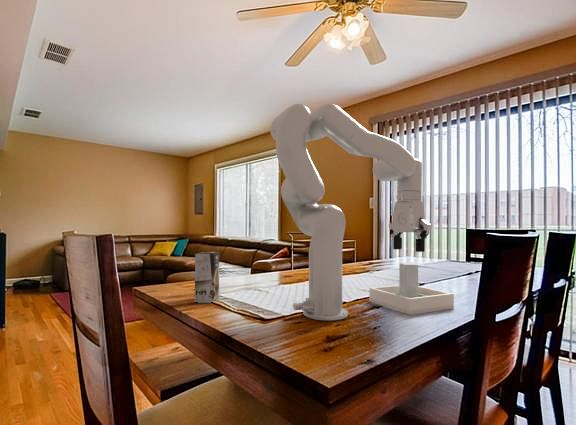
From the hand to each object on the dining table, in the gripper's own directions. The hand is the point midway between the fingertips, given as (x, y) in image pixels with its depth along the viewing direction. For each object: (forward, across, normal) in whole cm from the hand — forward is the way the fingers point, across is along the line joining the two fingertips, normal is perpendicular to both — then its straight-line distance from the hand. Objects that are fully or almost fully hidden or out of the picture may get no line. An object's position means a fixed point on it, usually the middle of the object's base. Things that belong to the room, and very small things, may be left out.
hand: (408, 250), depth 109 cm
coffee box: (+19, -33, -57) cm, 69 cm away
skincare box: (+16, 0, 0) cm, 16 cm away
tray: (+17, 0, +1) cm, 17 cm away
